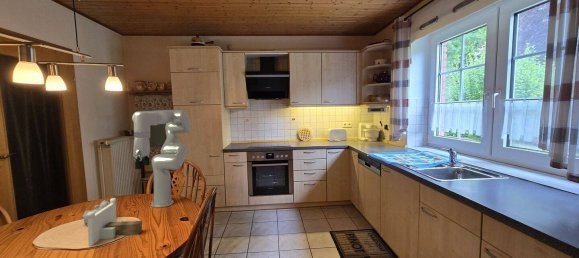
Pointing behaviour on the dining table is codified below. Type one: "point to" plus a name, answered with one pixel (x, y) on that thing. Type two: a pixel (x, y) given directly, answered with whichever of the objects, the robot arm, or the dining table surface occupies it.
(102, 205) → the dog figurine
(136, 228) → the rail
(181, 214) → the dining table surface
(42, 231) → the dining table surface
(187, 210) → the dining table surface
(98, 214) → the pale grey legged piece
